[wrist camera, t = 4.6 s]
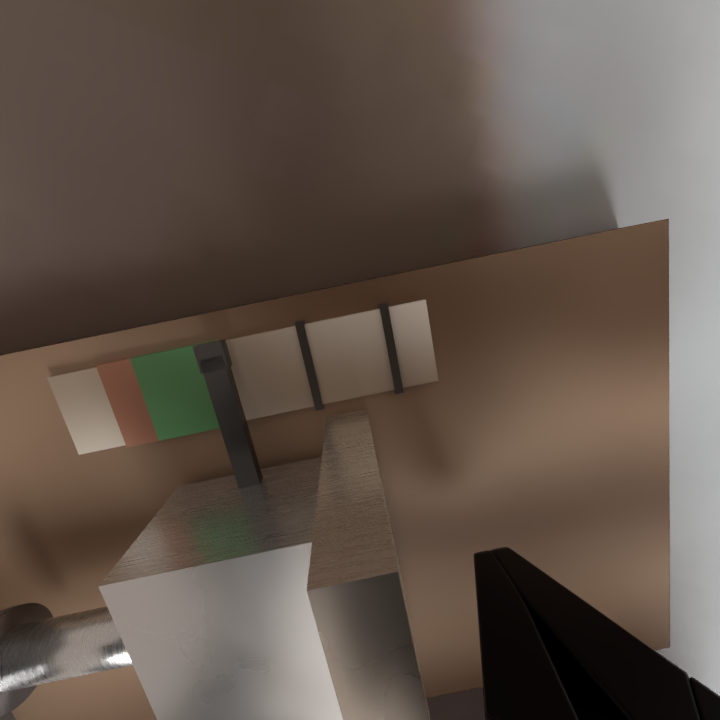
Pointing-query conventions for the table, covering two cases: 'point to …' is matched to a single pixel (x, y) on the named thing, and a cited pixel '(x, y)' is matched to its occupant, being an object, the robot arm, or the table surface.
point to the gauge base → (390, 436)
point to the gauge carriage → (247, 591)
